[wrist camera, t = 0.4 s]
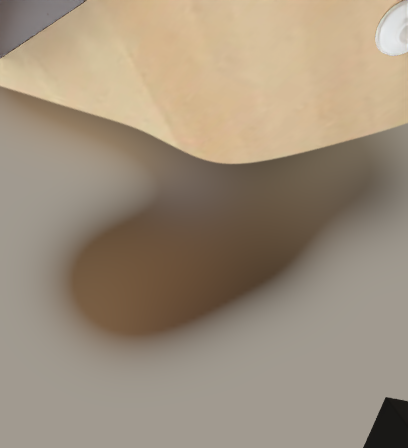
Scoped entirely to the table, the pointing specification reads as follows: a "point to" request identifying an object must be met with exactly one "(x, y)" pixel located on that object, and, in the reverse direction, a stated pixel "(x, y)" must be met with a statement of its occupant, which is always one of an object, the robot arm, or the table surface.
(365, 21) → the table surface
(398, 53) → the chess piece
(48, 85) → the table surface
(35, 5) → the walnut riser
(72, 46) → the table surface
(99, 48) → the table surface
